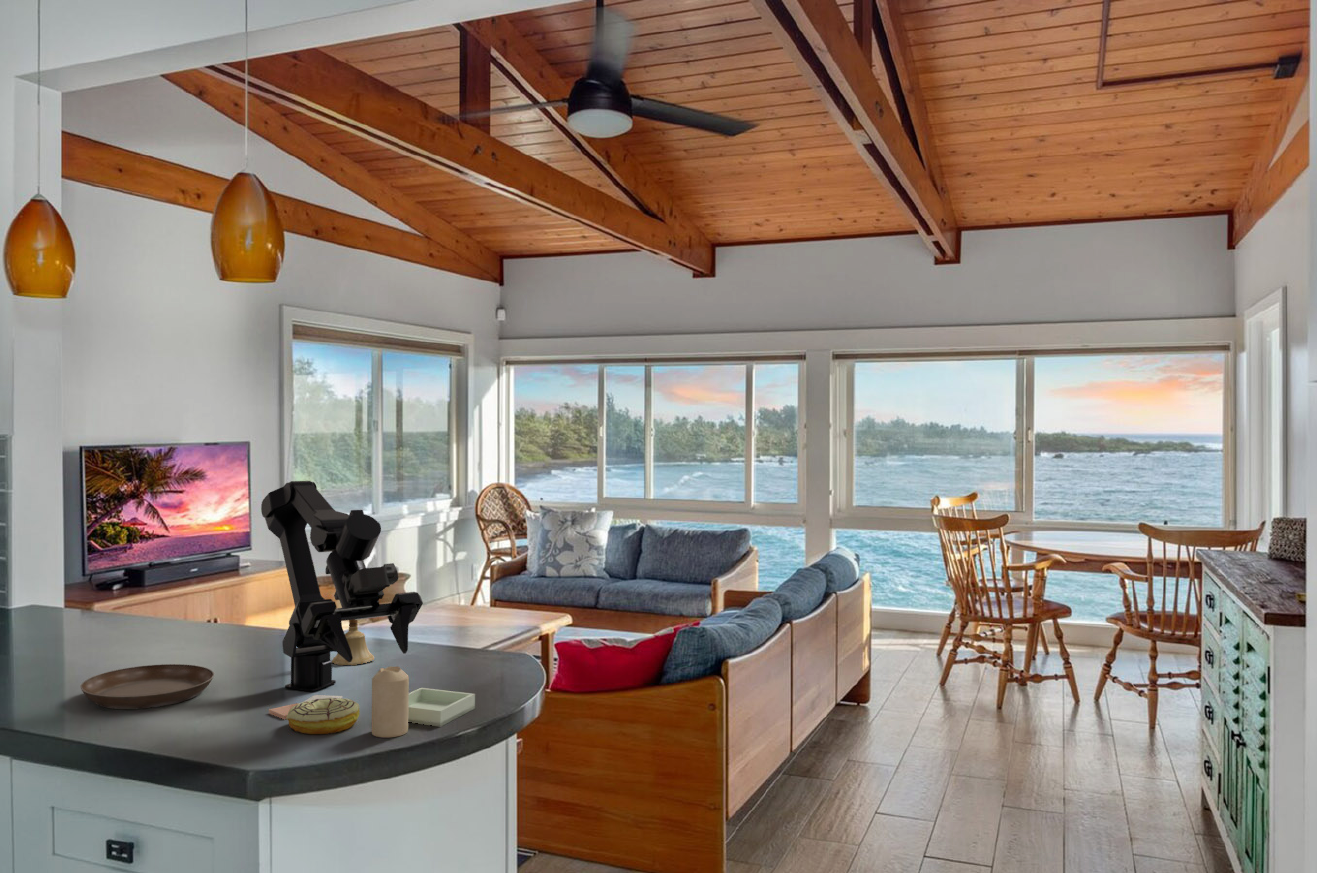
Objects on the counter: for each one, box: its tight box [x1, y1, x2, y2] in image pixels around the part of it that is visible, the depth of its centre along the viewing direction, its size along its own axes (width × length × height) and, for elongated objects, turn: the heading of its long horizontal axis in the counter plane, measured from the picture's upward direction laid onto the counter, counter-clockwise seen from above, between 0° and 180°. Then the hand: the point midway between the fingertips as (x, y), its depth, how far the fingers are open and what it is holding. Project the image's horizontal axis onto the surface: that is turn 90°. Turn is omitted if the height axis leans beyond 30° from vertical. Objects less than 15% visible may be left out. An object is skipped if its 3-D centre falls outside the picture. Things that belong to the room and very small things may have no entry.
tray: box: [408, 687, 476, 728], centre depth 158 cm, size 11×11×2 cm
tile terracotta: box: [268, 702, 299, 721], centre depth 157 cm, size 5×5×1 cm
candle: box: [371, 666, 410, 739], centre depth 148 cm, size 6×6×10 cm
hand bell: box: [331, 619, 375, 666], centre depth 193 cm, size 8×8×16 cm
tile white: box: [303, 694, 343, 702], centre depth 163 cm, size 5×5×1 cm
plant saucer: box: [80, 663, 215, 710], centre depth 167 cm, size 21×21×3 cm
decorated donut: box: [286, 697, 360, 735], centre depth 151 cm, size 10×11×4 cm
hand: (378, 656), depth 151 cm, fingers open, 9 cm apart
